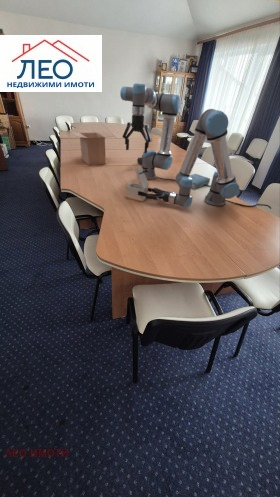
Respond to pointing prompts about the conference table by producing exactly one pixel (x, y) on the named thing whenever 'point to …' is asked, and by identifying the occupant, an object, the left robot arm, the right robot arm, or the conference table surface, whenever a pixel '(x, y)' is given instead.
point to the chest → (135, 191)
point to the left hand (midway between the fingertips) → (136, 151)
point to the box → (92, 146)
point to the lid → (142, 177)
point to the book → (199, 180)
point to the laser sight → (140, 160)
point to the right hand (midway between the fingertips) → (141, 190)
